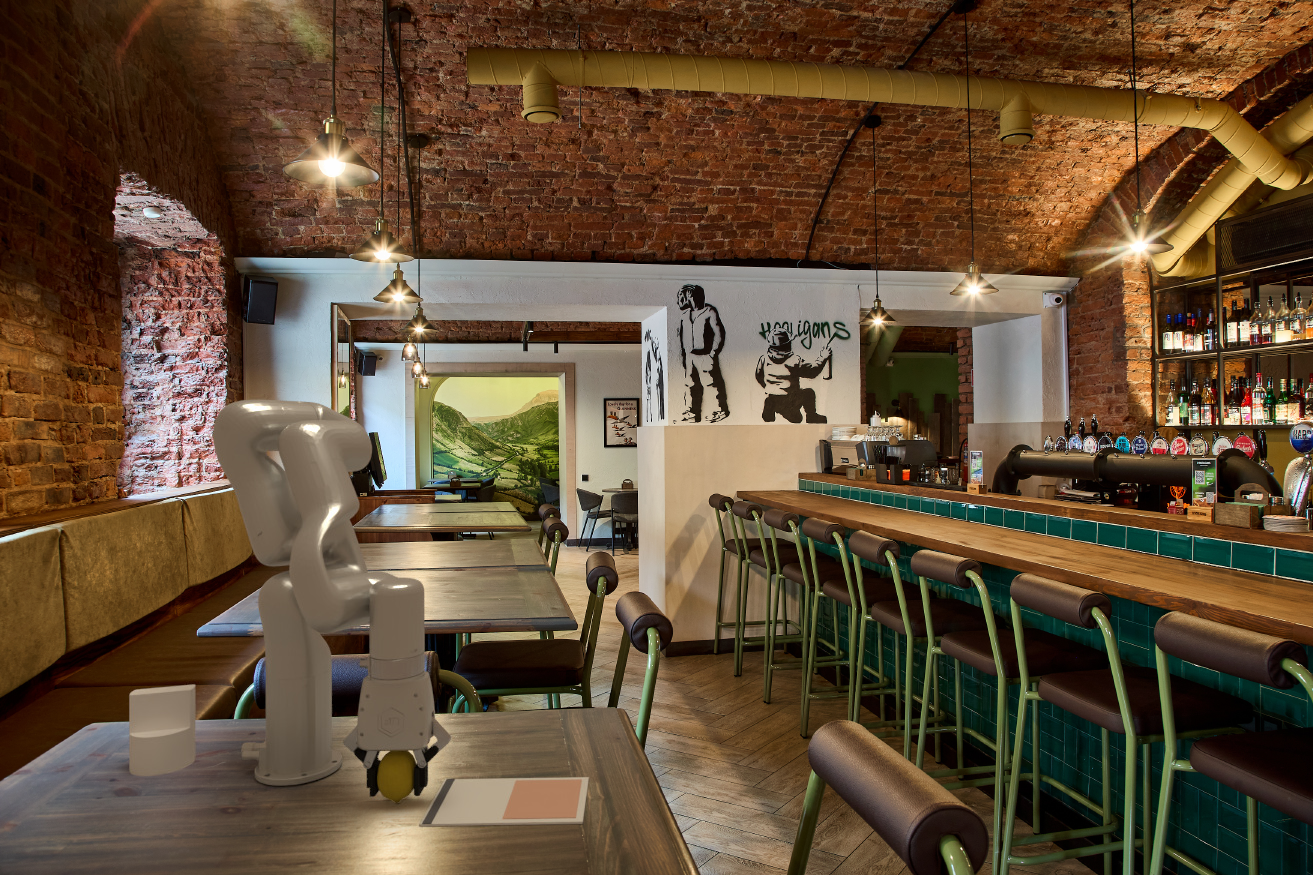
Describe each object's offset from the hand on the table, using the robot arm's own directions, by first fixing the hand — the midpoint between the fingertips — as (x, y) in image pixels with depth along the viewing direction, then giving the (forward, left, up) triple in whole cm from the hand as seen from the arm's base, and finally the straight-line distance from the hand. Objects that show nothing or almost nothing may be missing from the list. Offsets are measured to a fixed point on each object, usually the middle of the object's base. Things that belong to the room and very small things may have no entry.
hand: (397, 790), depth 112 cm
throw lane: (+16, 0, -2) cm, 16 cm away
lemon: (0, 0, -2) cm, 2 cm away
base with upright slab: (-42, +15, -2) cm, 45 cm away
